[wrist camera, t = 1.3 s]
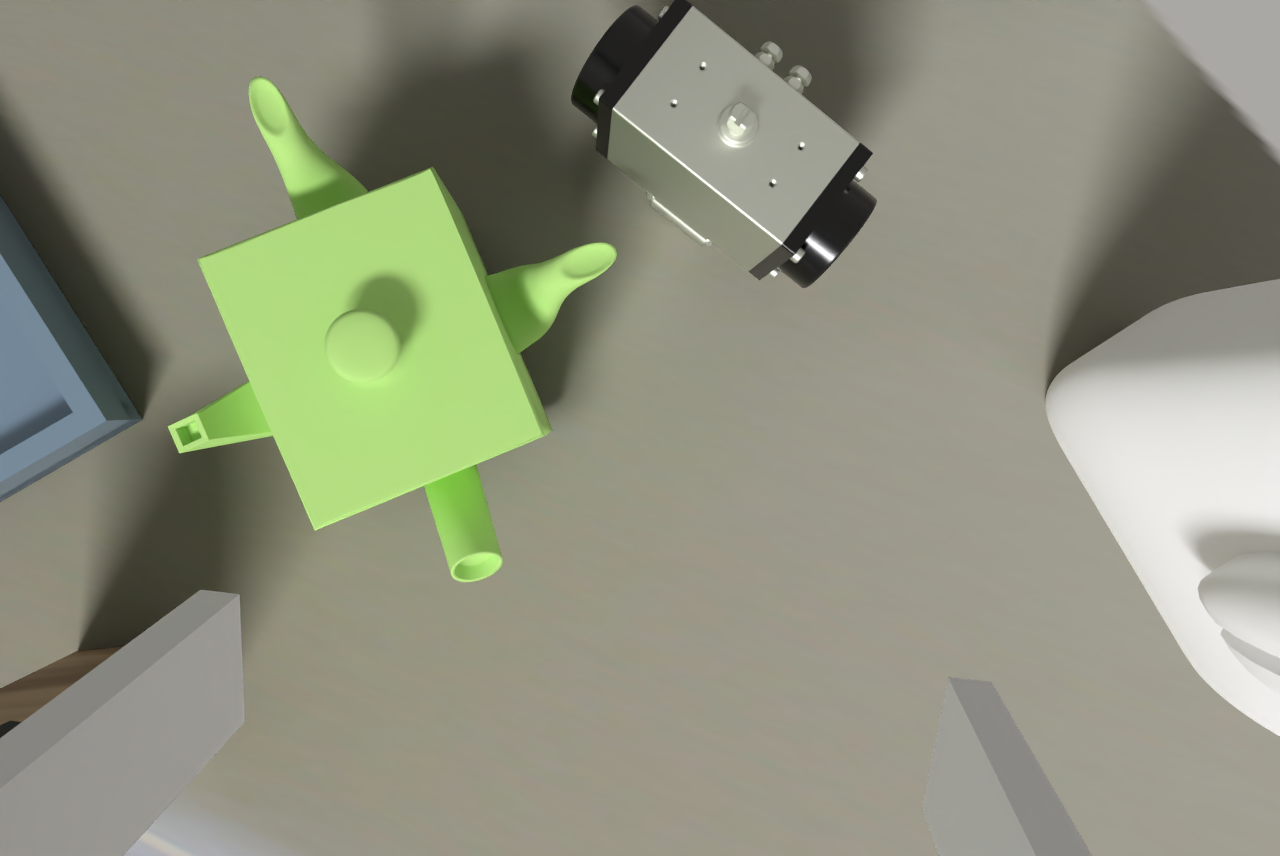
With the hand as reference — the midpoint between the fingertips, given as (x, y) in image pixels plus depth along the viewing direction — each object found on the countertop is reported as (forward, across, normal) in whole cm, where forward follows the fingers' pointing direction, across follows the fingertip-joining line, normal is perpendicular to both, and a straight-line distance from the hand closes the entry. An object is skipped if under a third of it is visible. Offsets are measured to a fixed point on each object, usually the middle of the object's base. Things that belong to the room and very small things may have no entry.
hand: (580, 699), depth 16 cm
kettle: (+26, -11, +1) cm, 28 cm away
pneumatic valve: (+29, +1, +10) cm, 31 cm away
